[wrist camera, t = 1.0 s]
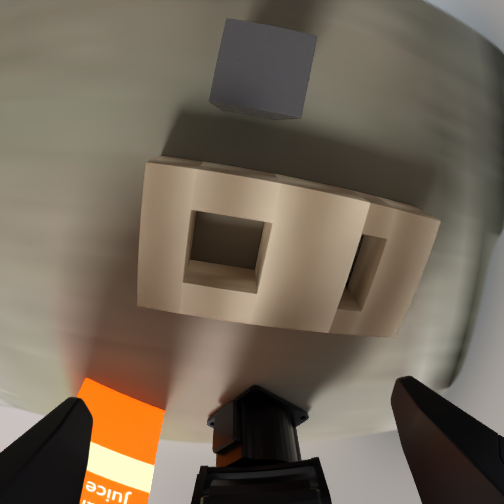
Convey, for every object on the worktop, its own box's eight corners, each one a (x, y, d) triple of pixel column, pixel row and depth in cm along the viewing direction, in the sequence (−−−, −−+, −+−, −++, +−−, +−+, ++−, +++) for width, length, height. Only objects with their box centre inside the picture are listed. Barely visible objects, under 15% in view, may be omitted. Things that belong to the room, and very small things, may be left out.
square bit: (286, 69, 16) (317, 36, 9) (276, 120, 17) (300, 118, 10) (232, 59, 15) (226, 18, 8) (221, 110, 16) (208, 101, 9)
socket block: (416, 207, 19) (441, 221, 16) (379, 313, 22) (394, 337, 19) (160, 155, 17) (145, 162, 14) (149, 281, 20) (137, 305, 17)
